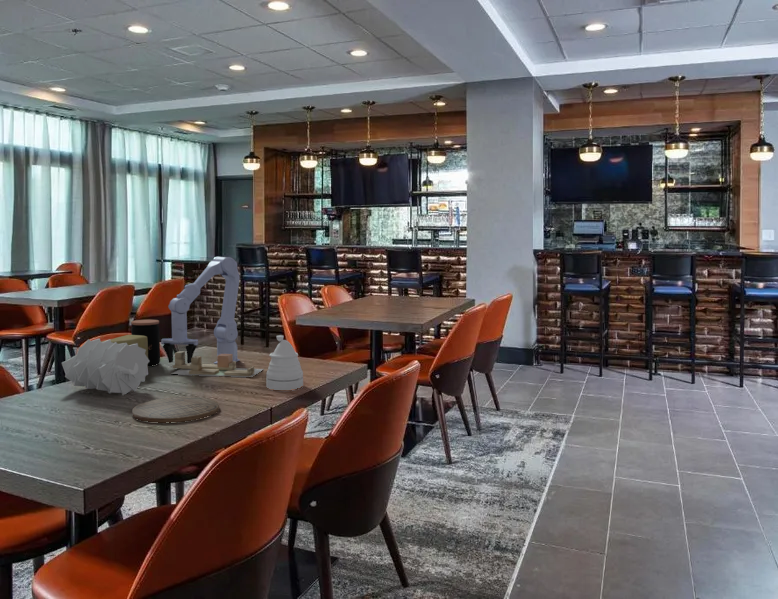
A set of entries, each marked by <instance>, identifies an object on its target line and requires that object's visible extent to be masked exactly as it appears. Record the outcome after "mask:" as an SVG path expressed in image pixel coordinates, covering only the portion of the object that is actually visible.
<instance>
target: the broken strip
mask: <svg viewBox="0 0 778 599" xmlns="http://www.w3.org/2000/svg"><path fill="white" fill-rule="evenodd" d="M190 364H191V370H190V371H189V374H208V375H215V374H216V373H218V372H219V369H202V364H203V362H202V356H200V355H195V356H192V358H191V363H190ZM246 369H247V370H228V371H226V372H224V375H235V376H251V375H252V374H254V369H255V366H250V367H249V368H246Z"/></svg>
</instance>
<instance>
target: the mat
mask: <svg viewBox="0 0 778 599" xmlns="http://www.w3.org/2000/svg"><path fill="white" fill-rule="evenodd" d="M247 369H248V368H246V367H245V368H244V367H243V368H242V367H240V368H239V367H236V368H235V369H233V370H247ZM190 370H191V369H182V368H179V369H177V370H175V371H174V372H171V373H170V375H171V374H178V375H177V376H192V375H199V376H200V377H219V376H231V377H230V378H246V377H253V376H254V375H256V374H257V375H259V374H260V373H261V371H262V370H263V371H264V370H265V369H264V368H254V374H252V375H251V376H235V375H224V372H226V371H228V370H219V372H218V373H216V374H215V375H208V374H189V371H190ZM263 371H262V372H263ZM259 372H260V373H259ZM258 373H259V374H258ZM257 375H256V376H257ZM254 377H255V376H254ZM254 377H253V378H254Z"/></svg>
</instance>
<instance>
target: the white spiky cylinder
mask: <svg viewBox="0 0 778 599" xmlns="http://www.w3.org/2000/svg"><path fill="white" fill-rule="evenodd" d="M103 341H104V342H101V338H96V339H93V340H90V339H89V338H88V339H87V340H86V341H85V342H84V344H82V346H78V349H77V353H76V355H73V356H71V357H70V358H69V359H66V360H65V361H62V362H61V366H62V368H63V371H64V373H65V375H64V378H66V379H67V380H68V381H70V382H71V383H73V386H74V387H85V389H87V390H88V389H96V390H98V391H106V392H107V394H112V393H116V394H117V393H119V394H121V396H124V395H123V394H125V395H127V393H128V394H129V392H132V391H133V392H136V391H137V389H138V387H139V386H140V384H141V383H142V382H145V380H146V376H148V375H149V370H148V369H149V367H148V368H147V364H148V363H149V362H150V361H149V359H148V358H147V356H146V355H145V352H146V350H145V349H143V348H140V347H138V343H136V344H133V345H129V346H128V344H127V343H122V344H117V342H115V343H112V342H111V339H107V340H103Z"/></svg>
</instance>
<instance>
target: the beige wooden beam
mask: <svg viewBox="0 0 778 599" xmlns="http://www.w3.org/2000/svg"><path fill="white" fill-rule="evenodd" d="M235 368H237V362H236V361H233V362H231V363H229V367H218V366H217V364H214V363H213V364H211V363H209V364H208V363H202V369H219V370H233V369H235ZM172 369H191V363H186V351H185V350H184V351H183V350H179V351H177V352H174V364H173V365H172Z"/></svg>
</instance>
